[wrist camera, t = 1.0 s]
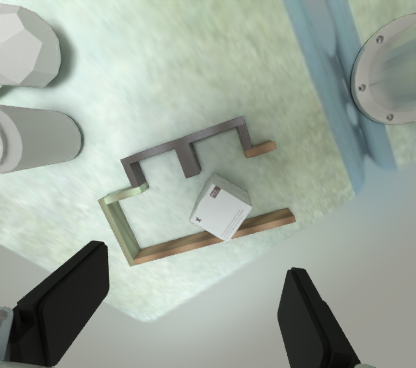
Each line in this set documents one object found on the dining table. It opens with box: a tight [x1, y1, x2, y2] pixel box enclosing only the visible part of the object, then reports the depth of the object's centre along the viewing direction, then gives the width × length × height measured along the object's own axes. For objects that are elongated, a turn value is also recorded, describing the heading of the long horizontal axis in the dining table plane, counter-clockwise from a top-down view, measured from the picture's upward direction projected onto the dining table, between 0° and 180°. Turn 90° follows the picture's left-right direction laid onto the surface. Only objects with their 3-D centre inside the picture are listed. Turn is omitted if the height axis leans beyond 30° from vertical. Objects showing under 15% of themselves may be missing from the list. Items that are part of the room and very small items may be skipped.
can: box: [0, 105, 81, 174], centre depth 26 cm, size 8×8×12 cm
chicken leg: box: [0, 4, 61, 88], centre depth 27 cm, size 8×18×8 cm, turn 116°
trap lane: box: [98, 116, 296, 266], centre depth 31 cm, size 27×16×3 cm, turn 109°
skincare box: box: [189, 173, 253, 243], centre depth 29 cm, size 6×6×7 cm
